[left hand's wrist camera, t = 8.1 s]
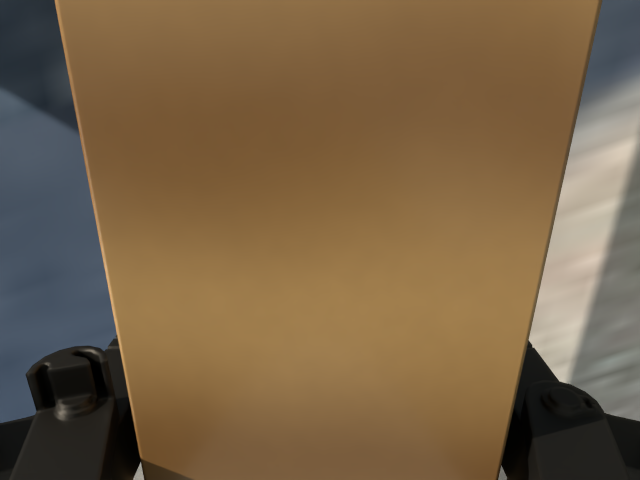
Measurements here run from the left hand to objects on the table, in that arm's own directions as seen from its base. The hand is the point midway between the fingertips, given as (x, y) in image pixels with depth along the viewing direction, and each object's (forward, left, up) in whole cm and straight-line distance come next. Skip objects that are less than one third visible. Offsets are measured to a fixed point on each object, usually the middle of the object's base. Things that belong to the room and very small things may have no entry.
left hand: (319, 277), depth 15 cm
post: (+9, +26, 0) cm, 27 cm away
